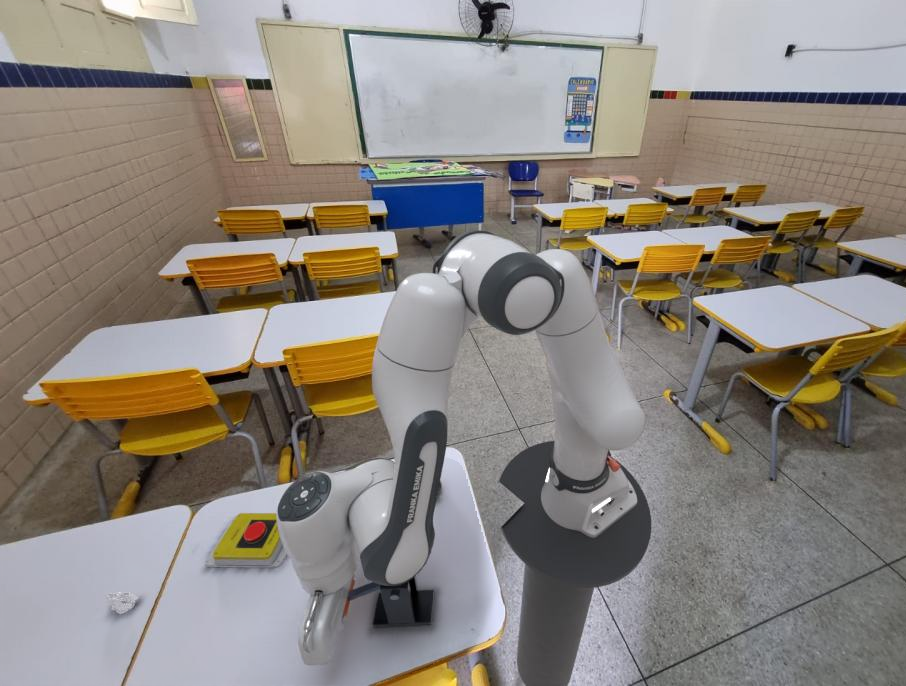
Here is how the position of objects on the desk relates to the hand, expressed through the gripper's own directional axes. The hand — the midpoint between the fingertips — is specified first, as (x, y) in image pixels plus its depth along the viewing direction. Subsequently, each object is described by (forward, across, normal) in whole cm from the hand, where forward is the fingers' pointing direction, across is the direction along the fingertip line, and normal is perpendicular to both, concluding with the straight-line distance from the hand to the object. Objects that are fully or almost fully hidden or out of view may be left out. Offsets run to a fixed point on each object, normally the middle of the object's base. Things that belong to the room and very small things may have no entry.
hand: (344, 603), depth 66 cm
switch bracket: (+4, 0, -10) cm, 11 cm away
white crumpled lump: (+4, +3, +40) cm, 40 cm away
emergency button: (+4, +13, +22) cm, 26 cm away
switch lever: (-4, 0, -6) cm, 7 cm away
